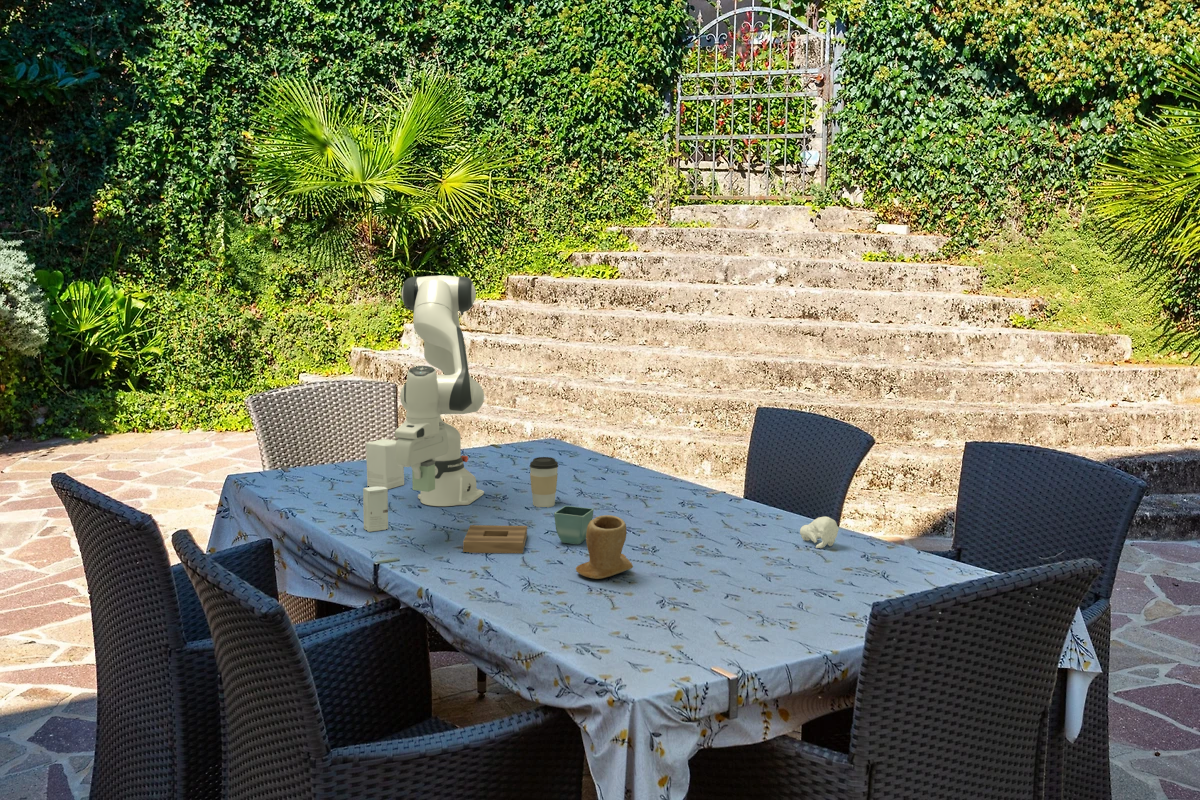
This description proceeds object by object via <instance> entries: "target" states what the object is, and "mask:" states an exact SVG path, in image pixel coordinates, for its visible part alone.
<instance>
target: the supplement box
mask: <svg viewBox="0 0 1200 800" xmlns="http://www.w3.org/2000/svg"><path fill="white" fill-rule="evenodd" d="M396 441H397V440H395V439H387V438H382V439H377V440H373V441H367V442H365V450H366V454H365V455H366V457H365V458H366V480H367V481H366V484H367V487H368V486H369V487H377V486H383V487H385V488H387V489H388V490H391V489H393V488H395V489H396V488H398V487H402V486H405V467H402V466H398V464H397V462H396Z"/></svg>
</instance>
